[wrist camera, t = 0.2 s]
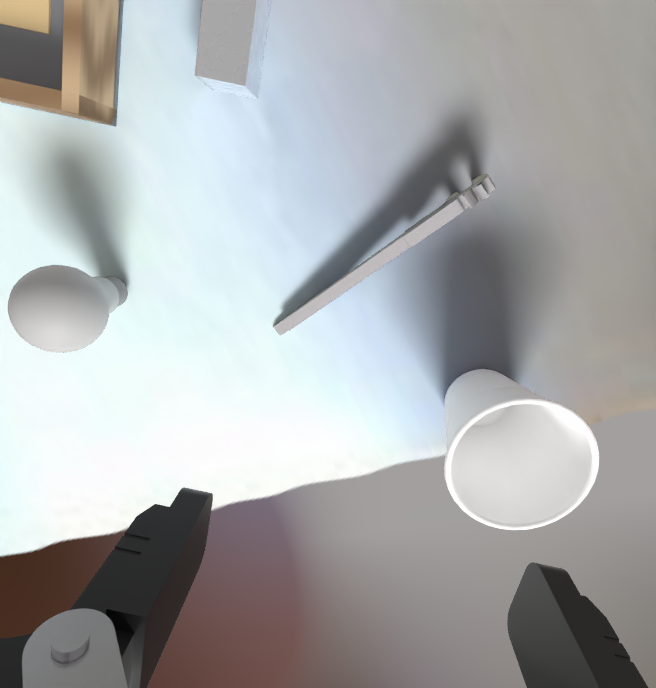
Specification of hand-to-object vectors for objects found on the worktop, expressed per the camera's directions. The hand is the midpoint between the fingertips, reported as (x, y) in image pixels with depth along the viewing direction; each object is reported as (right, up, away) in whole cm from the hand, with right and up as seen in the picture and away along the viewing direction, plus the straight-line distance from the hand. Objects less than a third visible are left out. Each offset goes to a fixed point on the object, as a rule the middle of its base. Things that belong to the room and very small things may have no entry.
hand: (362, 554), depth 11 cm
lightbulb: (-19, +10, +28) cm, 36 cm away
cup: (+13, 0, +29) cm, 32 cm away
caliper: (+3, +12, +27) cm, 29 cm away
